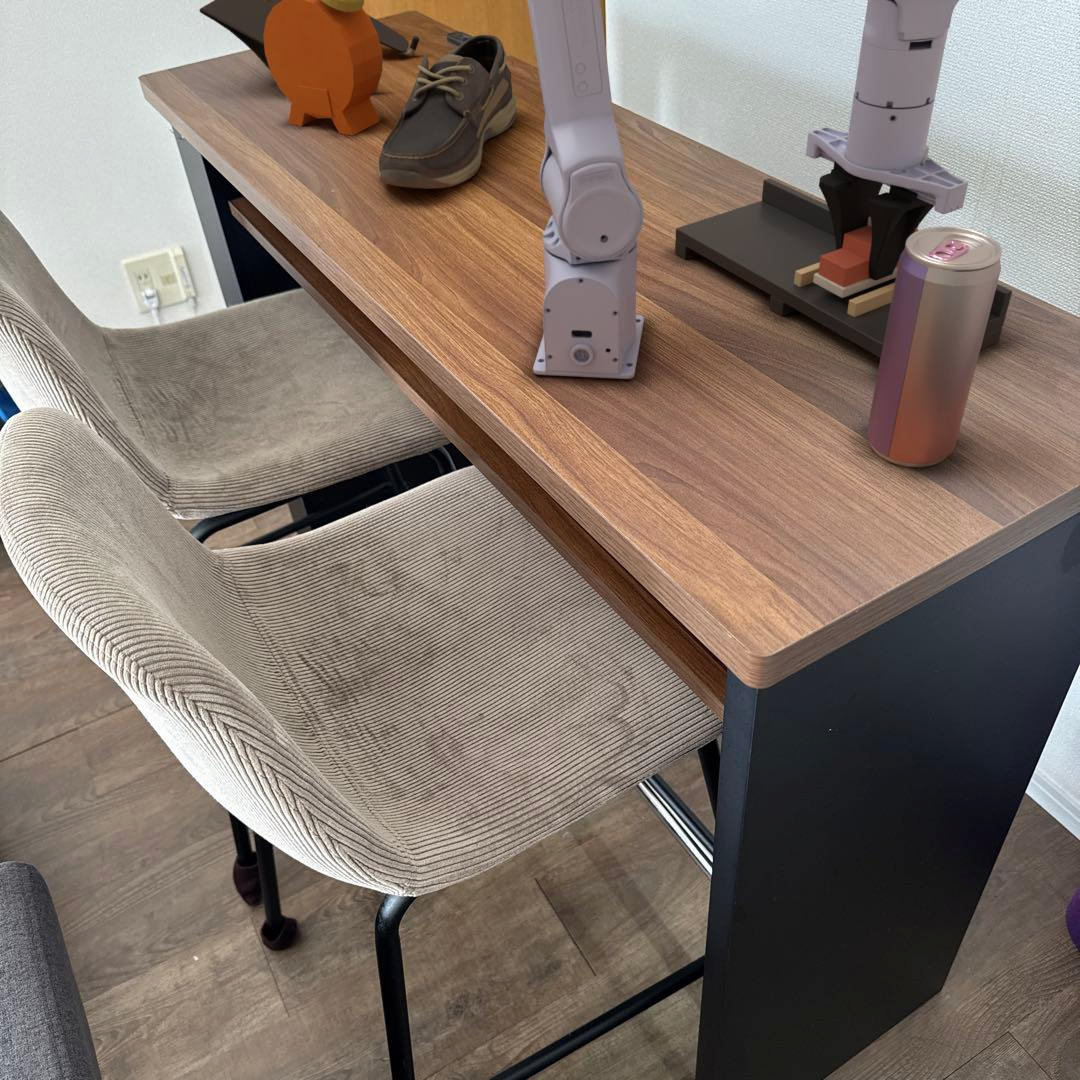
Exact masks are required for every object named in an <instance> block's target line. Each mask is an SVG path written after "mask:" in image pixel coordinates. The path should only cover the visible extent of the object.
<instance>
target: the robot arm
mask: <svg viewBox="0 0 1080 1080" xmlns="http://www.w3.org/2000/svg"><path fill="white" fill-rule="evenodd" d="M526 2H527V9H528V14H529V20H530V26H531V33H532V39H533V46H534V53H535V59H536V65H537V70H538V78H539V83H540V88H541V96H542V102H543V109H544V120H543V121H544V122H543V133H544V140H545V150H544V155H543V158H542V161H541V164H540V168H539V186H540V189H541V191H542V194H543V196H544V198H545V200H546V202H548V205H549V208H550V210H551V213H552V214H551V216H550V217H549V220H548V222H547V223H546V226H545V229H544V230H543V233H542V244H543V245H542V246H543V248H542V249H543V269H544V270H543V271H544V288H545V289H544V292H545V293H544V297H543V301H542V320H543V321H542V325H543V335H542V338H541V341H540V344H539V347H538V351H537V353H536V358H535V361H534V363H533V367H532V372H533V373H534V374H535V375H539V376H540V375H542V376H556V377H557V376H558V377H560V376H561V377H576V378H577V377H578V378H579V377H580V378H598V379H600V378H601V379H618V380H630V379H633V378H634V377H635V374H636V368H637V364H638V363H637V362H638V357H639V352H640V348H641V347H640V346H641V342H642V335H643V329H644V326H645V325H644V324H645V323H644V322H645V317H644V316H643V315H640V314H637V275H638V273H637V271H638V269H637V267H638V237H639V235H640V233H641V230H642V228H643V224H644V219H645V218H644V216H645V211H644V205H643V201H642V198H641V197H640V194H639V193H638V192H637V190H636V189H635V187H634V185H633V184H632V183H631V181H630V180H629V177H628V174H627V170H626V169H627V168H626V163H625V155H624V151H623V148H622V144H621V139H620V135H619V132H618V128H617V123H616V120H615V116H614V108H613V107H614V106H613V99H612V91H611V84H610V81H611V80H610V74H609V72H610V71H609V65H608V57H607V56H608V55H607V48H606V40H605V29H604V23H603V22H604V21H603V15H602V14H603V13H602V4H601V0H526ZM959 2H960V0H867V3H866V4H867V5H866V13H865V17H864V25H863V29H862V36H861V44H860V50H859V58H858V65H857V72H856V79H855V85H854V92H853V97H852V104H851V105H852V106H851V111H850V118H849V125H848V131H843V130H839V129H835V128H832V127H829V126H823V127H820V128H817V129H813V130H810V131H808V134H807V141H806V147H805V148H806V150H805V156H807V157H809V158H811V159H814V160H816V159H819V158H822V159H823V160H826V161H829V162H831V163H833V168H831V169H830V172H829V173H826V174H823V175H821V176H820V177H819V182H818V188H819V189H820V191H821V193H822V195H823V198H824V200H825V204H827V205H828V208H829V211H830V215H831V219H832V223H833V229H834V235H835V243H836V250H838V249H841V248H842V247H843V240H844V234H845V233H848V232H851V231H853V230H856V229H859V228H862V227H865V226H868V225H867V224H868V218H869V217H871V228H872V242H871V250H870V258H869V278H871V279H873V280H879V279H881V278H884V277H887V276H889V275H892V274H893V272H894V270H895V267H896V265H897V263H898V261H899V258H900V256H901V254H902V252H903V250H904V248H905V244H906V241H907V239H908V237H909V236H910V235H911V234H913V233H914V231H915V230H916V228H917V227H918V228H919V226H920V224H921V223H922V221H923V220H924V219H925V218H926V217H927V215H928V214H929V212H930V211H931V210H932V209H933V211H934V212H937V213H939V214H942V215H946V214H949V213H952V212H955V211H958V210H960V209H963V207H964V204H965V199H966V195H967V190H968V186H969V182H968V181H966V180H963V179H961V178H960V177H957V176H955V175H954V174H952V173H951V172H950V171H949V170H947V169H946V168H944V167H943V166H941V165H940V164H939V163H938V162H937V161H935V160H934V159H932V158H931V157H930V156H929V150H930V147H929V146H928V145H927V141H928V138H929V137H928V136H929V131H930V125H931V121H932V115H933V110H934V106H935V100H936V95H937V91H938V83H939V79H940V74H941V68H942V64H943V59H944V53H945V47H946V43H947V38H948V34H949V33H948V32H949V29H950V26H951V22H952V17H953V12H954V10H955V8H956V7H957V4H958V3H959ZM883 185H885V186H887V187H889V191H888V192H887V191H886V192H883V193H880V192H881V190H882V187H883ZM918 225H919V226H918Z"/></svg>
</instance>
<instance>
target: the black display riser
mask: <svg viewBox="0 0 1080 1080" xmlns="http://www.w3.org/2000/svg"><path fill="white" fill-rule="evenodd" d="M833 251H836V243H835V235H834V229H833V223H832V219H831V215H830V211H829V208H828V205H827V203H824V202H823V201H820V200H818V199H816V198H814V197H812V196H809V195H807V194H805V193H803V192H800V191H799V190H796V189H794V188H792V187H790V186H788V185H786V184H783V183H782V182H779V181H777V180H775V179H772V178H765V179H763V181H762V194H761V200H760V201H757V202H753V203H749V204H747V205H743V206H741V207H738V208H734V209H732V210H728V211H725V212H722V213H719V214H716V215H713V216H710V217H707V218H704V219H701V220H697V221H695V222H692V223H689V224H686V225H685V224H684V225H683V226H679V227H676V228H675V241H674V254H675V255H677V256H679V257H680V258H682V259H684V260H687V259H691V258H693V257H696V256H701V257H704V258H706V259H707V260H708V261H711V262H712V263H714V264H716V265H718V266H720V267H721V268H723V269H725V270H726V271H728V272H730V273H732V274H733V275H735V276H737V277H738V278H740V279H742V280H743V281H745V282H747V283H749V284H751V285H753V286H754V287H756V288H758V289H759V290H761V291H763V292H765V293H766V294H768V295H770V298H769V299H770V301H769V310H770V311H772V312H774V313H776V314H777V315H779V316H781V317H783V316H786V315H788V314H791V313H794V312H796V311H798V312H800V313H801V314H803V315H805V316H807V317H808V318H810V319H812V320H814V321H816V322H817V323H819V324H821V325H822V326H824V327H825V328H828V329H829V330H831V331H833V332H834V333H835V334H838V335H839V336H842V337H843V338H845V339H847V340H848V341H850V342H852V343H854V344H855V345H857V346H859V347H860V348H862V349H864V350H866V351H868V352H869V353H871V354H873V355H874V356H877V358H880V359H881V354H882V348H883V343H884V338H885V333H886V327H887V322H888V317H889V312H890V306H891V301H892V296H893V290H894V285H895V280H896V278H893V279H891V280H888V281H885V282H883V283H880V284H878V285H875V286H872V287H870V288H867V289H865V290H862V291H859V292H857V293H854V294H852V295H849V296H846V297H844V298H841V297H839V296H837V295H836V294H834V293H832V292H830V291H828V290H826V289H824V288H823V287H821V286H819V285H817V284H815V283H813V278H814V274H815V273H818V271H819V264H820V257H821V256H822V255H824V254H827V253H830V252H833ZM1012 295H1013V290H1012V289H1009V288H1007V287H1005V286H1003V285H1000V284H998V283H997V287H996V291H995V295H994V298H993V302H992V306H991V310H990V314H989V318H988V322H987V326H986V329H985V333H984V337H983V341H982V345H981V349H980V351H981V350H983V349H986V348H988V347H990V346H993V345H995V344H997V343H999V342H1000V338H1001V334H1002V331H1003V327H1004V323H1005V320H1006V317H1007V313H1008V309H1009V305H1010V303H1011V298H1012Z"/></svg>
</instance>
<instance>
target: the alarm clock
mask: <svg viewBox="0 0 1080 1080" xmlns="http://www.w3.org/2000/svg"><path fill="white" fill-rule="evenodd" d="M265 1H266V2H270V1H273V0H265ZM364 4H365V0H282V1H281V2H279V3H278V4H277V5H275V6H274V7H273V8H272V10H271V12H270V13H269V15H268V17H267V19H266V23H265V29H264V35H263V36H264V48H265V55H266V58H267V62H268V65H269V68H270V70H269V71H270V74H271V75H272V77H273V79H274V81H275V83H276V85H277V87H278V88H279V90H280V91H281V93H282V94H283V95H284V96H285V97H286V99H287V100H288V101H289V102H290V103H291V104H290V112H289V119H288V124H289V125H294V126H299V127H302V126H304V125H307V124H309V123H310V122H312V121H315V120H316V119H331V120H332V122H333V124H334V126H335V128H336V130H337V131H338V134H340V135H341V134H342V135H348V136H354V135H357V134H358V133H360V132H363V131H364V130H366V129H368V128H370V127H371V126H374V125H376V124H378V123H379V122H381V120H380V118H379V115H378V113H377V111H376V109H375V107H374V105H373V103H372V100H371V97H372V95H373V94H374V93H375V92H376V91H377V89H378V87H379V83H380V80H381V78H382V73H383V49H382V46H381V44H380V42H379V38H378V34H377V32H376V30H375V28H374V26H373V24H372V22H371V20H370V18H369V16H370V15H369V14H368V13H367V12H366V11H365V10H364V8H363V7H364ZM367 14H368V15H369V16H368V15H367ZM380 77H381V78H380ZM376 88H377V89H376ZM375 90H376V91H375ZM374 91H375V92H374Z"/></svg>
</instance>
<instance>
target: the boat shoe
mask: <svg viewBox="0 0 1080 1080" xmlns="http://www.w3.org/2000/svg"><path fill="white" fill-rule="evenodd" d="M507 58H508V57H507V52H506V50H505V47H504V44H503V42H502V41H501V39H500V38H498V37H497V36H496V35H492V34H477V35H474V36H472V37H469V38H468V39H466V40H464V41H463V42H461V44H459V45H458V46H457V47H455V48H454V49H452V50H451V51H450V52H449V53H448V54H446V55H444V56H442V57H440V58H439V59H438V60H437V61H435V62H434V63H433V65H432V66H431V67H430V65H429V58H428V57H427V56H426V55H425V56H423V58H422V61H421V64H418V65H417V70H418V74H417V77H416V81H415V83H414V85H413V87H412V90H411V92H410V95H409V97H408V99H407V102H406V103H405V106H404V107H403V109H402V110H401V112H400V113H399V116H398V118H397V122H396V124H395V126H394V127H393V129H392V130H391V132H390V133H389V134H388V136H387V138H386V139H385V141H384V142H383V145H382V148H381V151H380V153H379V154H380V155H379V159H378V164H377V174H378V179H379V181H380V182H382V183H383V184H385V185H390V186H394V187H400V188H411V189H430V190H431V189H445V188H451V187H455V186H457V185H459V184H462V183H464V182H466V181H468V180H470V179H471V178H472V177H474V176H475V175H476V174H477V172H478V171H479V169H480V166H481V164H482V158H483V157H482V155H483V148H484V147H483V146H484V144H485V142H487V141H488V140H489V139H492V138H493V137H496V136H499V135H500V134H501V135H502V134H503V133H504V132H505V131H507V130H508V129H509V128H510V127H511V126H512V125H513V124H514V122H515V120H516V115H517V111H518V110H517V109H518V107H517V105H518V104H517V99H516V96H515V93H514V91H513V83H512V72H511V71H510V69H509V67H508V64H507Z"/></svg>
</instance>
